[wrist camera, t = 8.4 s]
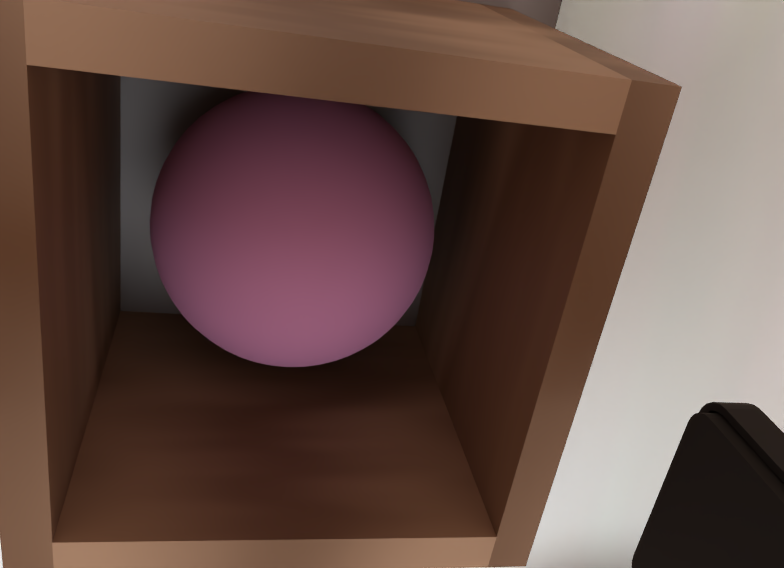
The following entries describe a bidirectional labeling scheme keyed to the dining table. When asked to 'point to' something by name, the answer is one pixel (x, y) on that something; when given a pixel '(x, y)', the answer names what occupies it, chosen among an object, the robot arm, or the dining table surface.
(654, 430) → the dining table surface
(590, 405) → the dining table surface
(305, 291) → the plum ball
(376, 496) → the wooden cube shelf
